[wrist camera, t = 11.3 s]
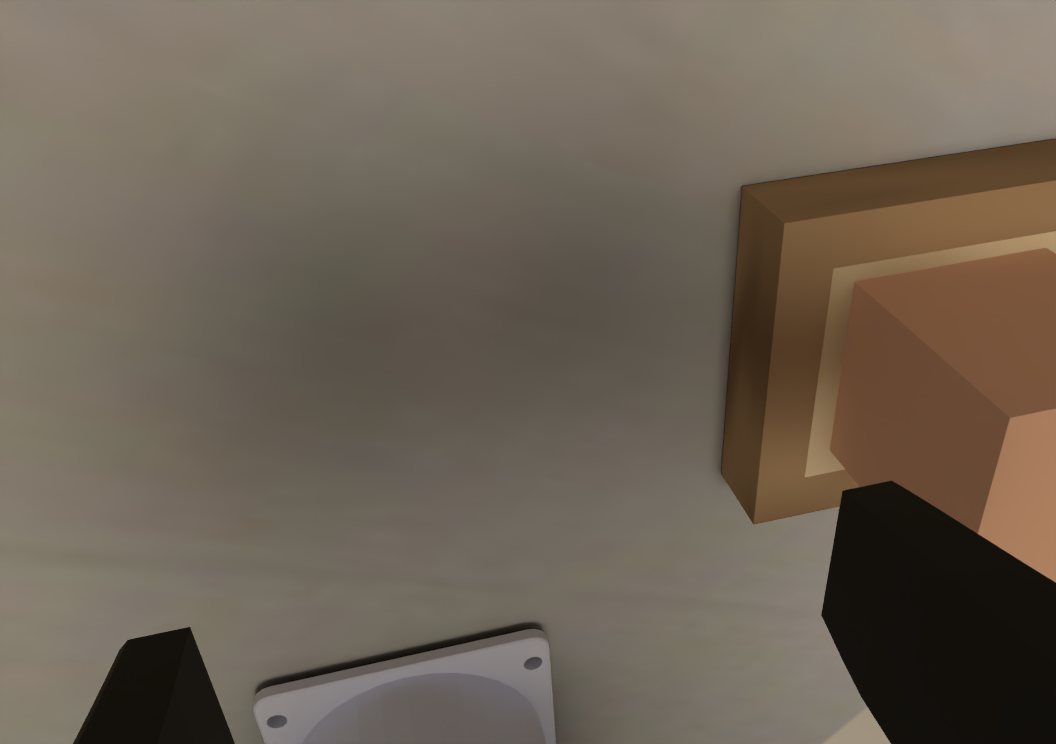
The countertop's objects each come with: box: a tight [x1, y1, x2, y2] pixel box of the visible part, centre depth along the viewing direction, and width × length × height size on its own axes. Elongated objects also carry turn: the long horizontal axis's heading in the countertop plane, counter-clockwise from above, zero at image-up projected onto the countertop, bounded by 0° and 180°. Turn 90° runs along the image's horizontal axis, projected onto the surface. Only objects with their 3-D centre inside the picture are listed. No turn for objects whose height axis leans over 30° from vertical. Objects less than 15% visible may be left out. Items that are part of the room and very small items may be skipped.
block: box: [830, 248, 1056, 582], centre depth 19 cm, size 4×4×5 cm
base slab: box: [721, 139, 1056, 524], centre depth 22 cm, size 8×8×2 cm
